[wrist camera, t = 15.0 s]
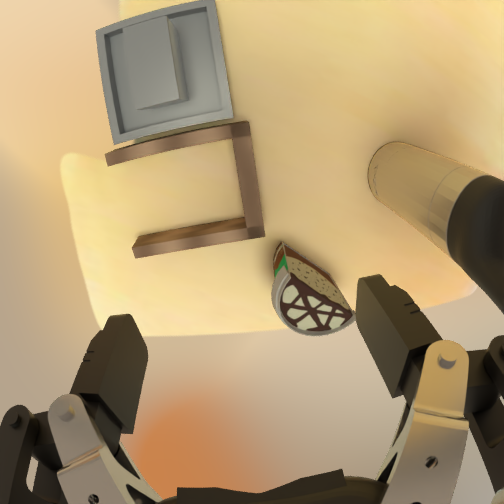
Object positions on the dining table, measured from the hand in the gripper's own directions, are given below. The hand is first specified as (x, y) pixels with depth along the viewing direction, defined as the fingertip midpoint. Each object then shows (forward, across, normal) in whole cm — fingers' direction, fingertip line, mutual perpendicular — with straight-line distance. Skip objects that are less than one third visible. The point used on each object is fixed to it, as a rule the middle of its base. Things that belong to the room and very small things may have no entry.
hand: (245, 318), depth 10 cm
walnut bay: (+28, +6, +2) cm, 29 cm away
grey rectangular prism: (+28, +6, -13) cm, 31 cm away
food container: (+28, -6, +17) cm, 34 cm away
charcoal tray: (+28, +6, -13) cm, 32 cm away
